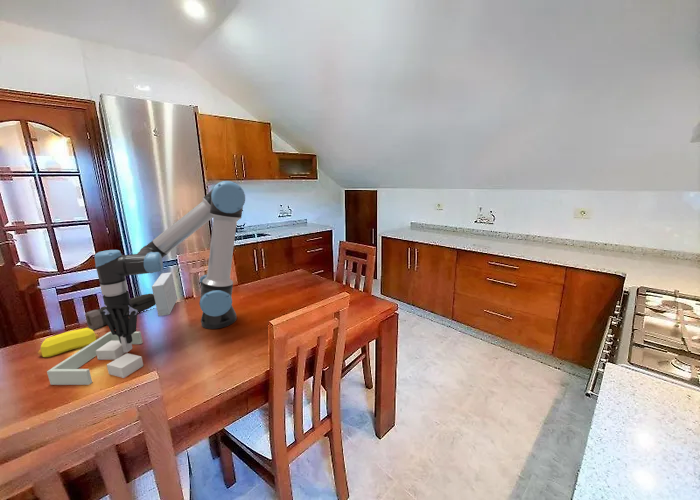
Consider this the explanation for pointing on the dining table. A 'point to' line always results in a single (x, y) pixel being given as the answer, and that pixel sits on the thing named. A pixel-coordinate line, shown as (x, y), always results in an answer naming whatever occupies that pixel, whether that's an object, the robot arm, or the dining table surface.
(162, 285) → the skincare box
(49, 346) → the yellow bevelled bar
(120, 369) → the tile
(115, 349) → the tile
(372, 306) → the dining table surface
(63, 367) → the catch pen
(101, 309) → the black handheld tool
